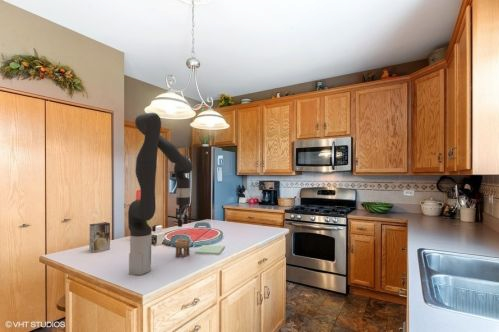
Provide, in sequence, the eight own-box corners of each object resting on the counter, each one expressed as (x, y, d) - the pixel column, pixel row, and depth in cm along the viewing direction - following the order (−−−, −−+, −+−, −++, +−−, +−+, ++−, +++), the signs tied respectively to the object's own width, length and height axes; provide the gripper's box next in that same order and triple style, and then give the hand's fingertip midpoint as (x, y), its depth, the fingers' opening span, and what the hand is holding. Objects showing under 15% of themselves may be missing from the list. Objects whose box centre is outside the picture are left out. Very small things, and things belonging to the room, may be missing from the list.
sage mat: (219, 254, 142) (219, 252, 142) (195, 253, 143) (195, 251, 143) (224, 247, 155) (224, 245, 155) (202, 246, 157) (202, 245, 157)
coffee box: (105, 247, 155) (105, 221, 155) (110, 249, 151) (110, 222, 152) (88, 251, 148) (89, 224, 148) (93, 253, 144) (94, 225, 144)
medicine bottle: (148, 244, 162) (149, 225, 163) (157, 241, 169) (157, 223, 169) (156, 245, 159) (156, 227, 160) (165, 243, 165) (165, 225, 166)
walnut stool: (185, 257, 137) (185, 243, 137) (175, 257, 137) (175, 242, 138) (189, 254, 143) (189, 240, 143) (179, 253, 143) (179, 239, 144)
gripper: (184, 197, 133) (184, 228, 133) (193, 195, 148) (193, 222, 147) (171, 197, 134) (171, 227, 134) (181, 195, 149) (181, 222, 148)
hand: (183, 225), depth 141 cm, fingers open, 8 cm apart
